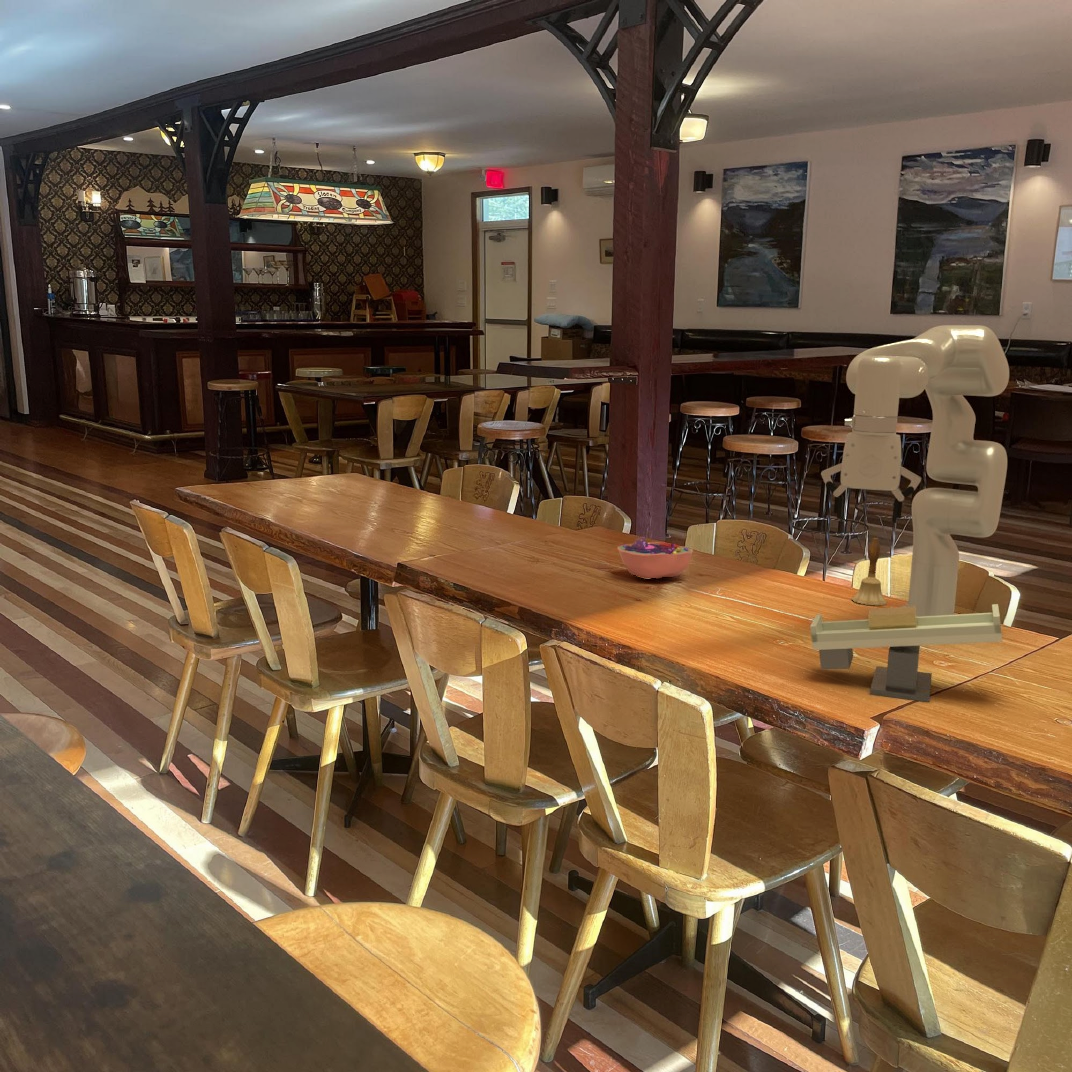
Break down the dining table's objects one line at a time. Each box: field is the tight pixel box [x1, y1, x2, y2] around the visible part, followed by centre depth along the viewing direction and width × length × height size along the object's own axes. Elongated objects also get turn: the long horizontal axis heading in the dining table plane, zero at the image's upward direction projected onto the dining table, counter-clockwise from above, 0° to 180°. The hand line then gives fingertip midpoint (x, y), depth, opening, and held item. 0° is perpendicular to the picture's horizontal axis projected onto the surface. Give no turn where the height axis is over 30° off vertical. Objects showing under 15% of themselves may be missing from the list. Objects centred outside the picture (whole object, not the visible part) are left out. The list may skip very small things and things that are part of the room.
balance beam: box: [809, 603, 1003, 671], centre depth 184 cm, size 32×9×8 cm, turn 68°
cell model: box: [616, 536, 694, 579], centre depth 266 cm, size 17×20×11 cm
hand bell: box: [851, 537, 888, 607], centre depth 245 cm, size 8×8×16 cm
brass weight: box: [867, 606, 918, 630], centre depth 184 cm, size 8×5×4 cm, turn 68°
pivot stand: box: [869, 645, 933, 703], centre depth 185 cm, size 10×14×8 cm
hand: (866, 519), depth 184 cm, fingers open, 9 cm apart
